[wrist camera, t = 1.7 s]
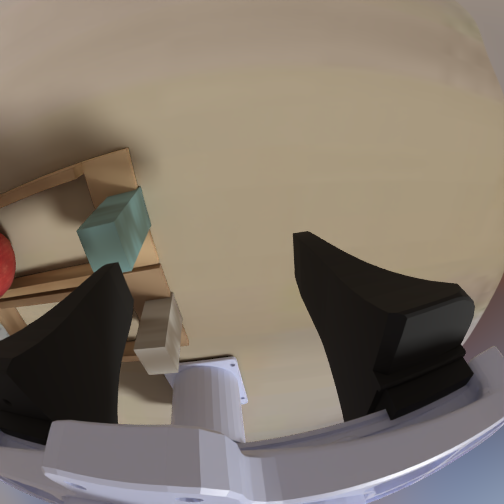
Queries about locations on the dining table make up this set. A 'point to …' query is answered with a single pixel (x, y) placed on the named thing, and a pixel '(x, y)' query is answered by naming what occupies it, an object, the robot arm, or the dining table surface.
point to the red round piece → (6, 264)
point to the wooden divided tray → (95, 222)
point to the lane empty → (147, 309)
